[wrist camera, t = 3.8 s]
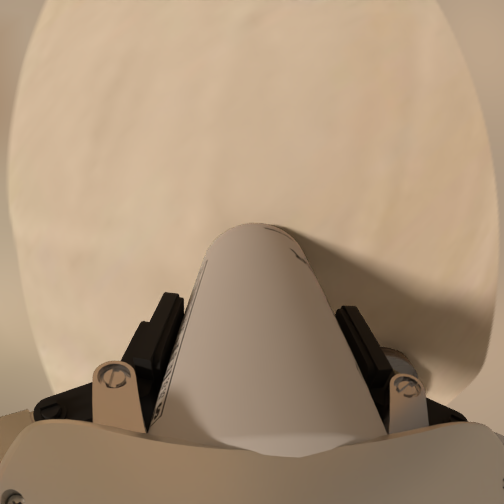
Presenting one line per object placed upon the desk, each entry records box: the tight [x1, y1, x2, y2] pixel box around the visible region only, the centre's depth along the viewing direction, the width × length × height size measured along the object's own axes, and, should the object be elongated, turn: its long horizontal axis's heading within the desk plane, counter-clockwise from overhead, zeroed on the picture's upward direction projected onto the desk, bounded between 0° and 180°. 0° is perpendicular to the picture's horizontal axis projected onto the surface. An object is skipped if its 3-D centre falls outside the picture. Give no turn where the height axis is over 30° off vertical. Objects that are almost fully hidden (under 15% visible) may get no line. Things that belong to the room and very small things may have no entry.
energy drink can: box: [147, 223, 387, 458], centre depth 10 cm, size 6×6×15 cm
